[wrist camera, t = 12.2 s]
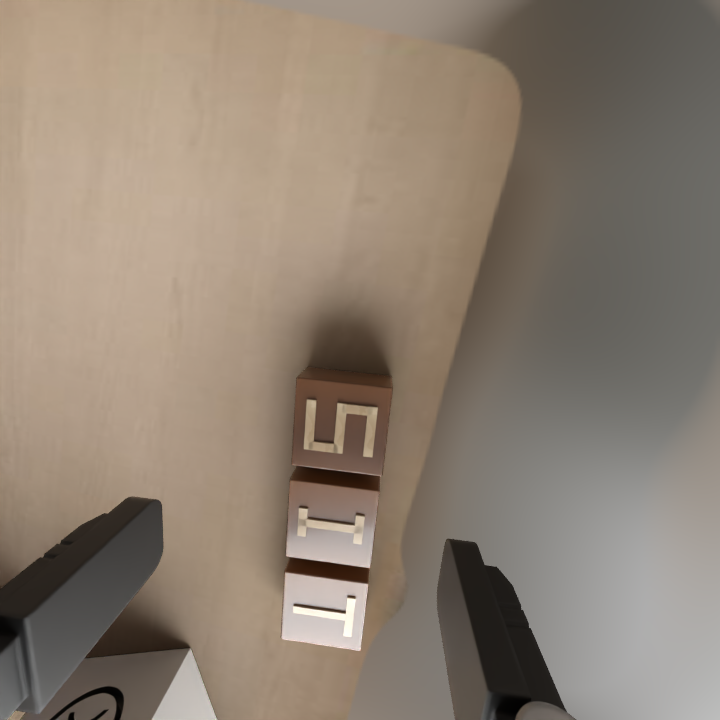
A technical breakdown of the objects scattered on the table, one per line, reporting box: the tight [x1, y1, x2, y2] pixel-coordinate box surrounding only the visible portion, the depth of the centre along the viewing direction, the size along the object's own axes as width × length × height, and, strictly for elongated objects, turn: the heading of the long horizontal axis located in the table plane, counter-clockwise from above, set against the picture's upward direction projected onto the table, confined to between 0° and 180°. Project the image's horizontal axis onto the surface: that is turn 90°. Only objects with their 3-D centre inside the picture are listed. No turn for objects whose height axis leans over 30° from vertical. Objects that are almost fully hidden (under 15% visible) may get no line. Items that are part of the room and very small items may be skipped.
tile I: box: [285, 466, 380, 568], centre depth 21 cm, size 5×5×3 cm
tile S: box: [292, 367, 393, 476], centre depth 19 cm, size 5×5×3 cm
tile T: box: [281, 557, 369, 651], centre depth 22 cm, size 5×5×3 cm
